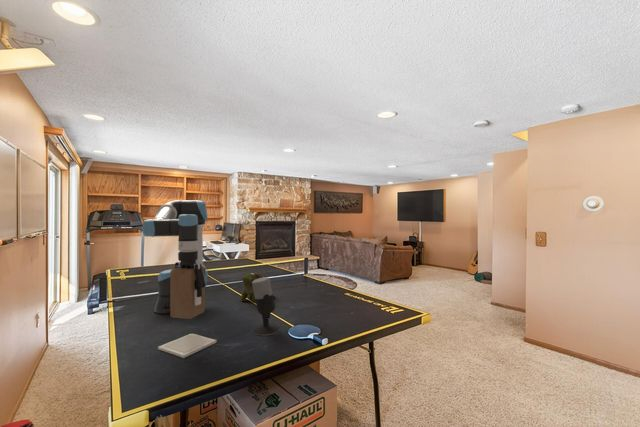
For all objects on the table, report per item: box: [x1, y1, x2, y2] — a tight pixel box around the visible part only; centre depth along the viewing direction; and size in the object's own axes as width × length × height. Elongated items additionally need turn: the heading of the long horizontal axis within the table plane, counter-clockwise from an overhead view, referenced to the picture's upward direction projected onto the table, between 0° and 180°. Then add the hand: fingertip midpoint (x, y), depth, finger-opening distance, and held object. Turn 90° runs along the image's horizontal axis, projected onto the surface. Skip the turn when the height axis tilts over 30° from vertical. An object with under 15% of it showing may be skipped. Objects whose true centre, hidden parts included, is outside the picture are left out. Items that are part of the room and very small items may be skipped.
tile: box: [157, 332, 217, 359], centre depth 125 cm, size 16×16×1 cm
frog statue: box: [240, 272, 264, 303], centre depth 194 cm, size 19×16×25 cm
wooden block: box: [169, 266, 206, 320], centre depth 125 cm, size 10×10×20 cm
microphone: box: [251, 276, 280, 337], centre depth 141 cm, size 13×13×25 cm
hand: (188, 302), depth 125 cm, fingers closed on wooden block, 11 cm apart
